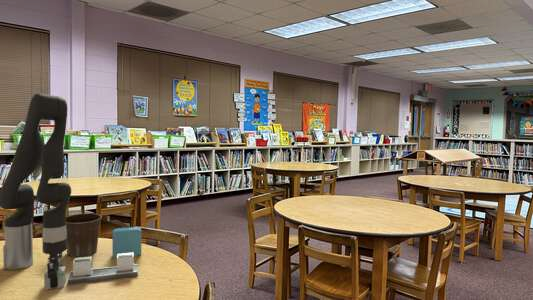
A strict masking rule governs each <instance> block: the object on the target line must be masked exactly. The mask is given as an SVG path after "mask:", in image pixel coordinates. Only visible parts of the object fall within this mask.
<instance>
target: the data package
mask: <svg viewBox="0 0 533 300" xmlns="http://www.w3.org/2000/svg"><path fill="white" fill-rule="evenodd" d="M111 236H112V237H111V238H112V246H111V247H112V252H111V253H112V257H113V258H115V259H117V254H122V253H132V252H134V257H137V256H140V255H141V254H142V229H141V227H140V226H134V227H133V226H132V227H119V228H115V229H113V231H112V235H111Z"/></svg>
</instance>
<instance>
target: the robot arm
mask: <svg viewBox="0 0 533 300" xmlns="http://www.w3.org/2000/svg"><path fill="white" fill-rule="evenodd" d="M67 117H68V103H67V100H66V99H65V98H64V97H62V96H59V95H51V94H45V93H35V94H33V96H32V98H31V99H30V102H29V105H28V108H27V114H26V119H25V123H24V127H23V130H22V133H21V137H20V139H19V142H18V144H17V146H16V150H15V152H14V155H13V159H12V163H11V165H10V169H9V171H8V173H7V176H6V178H5V180H4V182H3V183H2V186H1V188H0V208H1V209H3V210H14V209H15V210H16V209H17V210H16V211H15V212H14V213H12V214H10V215H9V216H7V217H6V218H5V219H4V245H3V248H2V249H3V253H2V254H3V255H2V257H3V258H2V259H3V270H10V271H13V270H15V271H16V270H22V269H26V268H29V267H31V266H32V265H33V264H34V251H33V250H34V249H33V248H34V244H33V240H34V239H33V238H34V237H33V218H34V213H35V210H34V209H35V207H34V206H35V197H36V199H37V201H38V203H40V204H55V203H57V204H58V205H56V206H54V207H52V208H49V209H46V210H45V211H43V214H42V237H41V238H42V253H43V254H45V255H49V256H48V257H47V264H46V267H47V268H46V269H47V270H48V278H50V288H53V289H57V288H56V287H57V286H58V270H59V269H60V267H62V266H63V264H62V263H63V252H65V251H67V229H66V217H67V208H68V205H69V201H70V198H71V194H72V187H71V185H70V184H69V183H67V182H65V181H62V182H49V180H51V179H53V178H56V177H60V176H63V175H64V174H65V158H64V157H65V155H64V154H65V153H64V150H65V148H64V145H65V137H66V130H67V121H68V118H67ZM41 120H43V121H54V122H53V124H54V127H53V131H52V133H51V134H50V136H49V137H48V139H47V141H46V142H45V140H43V137H42V135H41V132H40V128H39V126H40V122H41ZM40 166H41V174H40V178H39V179H40V180H39V184H38V186H37V189H36V194H35V192H34V188H33V187H32V186H31V185H30V184H25V183H24V184H22V183H23V182H24V181H25V180H26V179H28V177H29V176H31V175H32V174H34V173H35V172H36V170H38V169H39V167H40ZM35 195H36V196H35ZM56 267H57V268H56ZM52 273H54V274H52Z"/></svg>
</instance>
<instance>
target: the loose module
mask: <svg viewBox="0 0 533 300" xmlns="http://www.w3.org/2000/svg"><path fill="white" fill-rule="evenodd" d="M56 268H57V267H56ZM66 271H67V268H66V265H64V266H63V265H62V267H60V269H59V270H58V286H57V287H56V288H55V289H61V288H65V285H66V283H67V281H66V280H67V275H66V273H67V272H66ZM52 274H54V273H52ZM43 278H44V279H43V280H44V281H43V285H44V288H43V289H44V290H50V289H51V290H52V289H54V288H50V278H48V270H47V268H46V269H45V271H44V273H43Z"/></svg>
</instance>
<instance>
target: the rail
mask: <svg viewBox="0 0 533 300" xmlns="http://www.w3.org/2000/svg"><path fill="white" fill-rule="evenodd" d="M134 257H135V256H134V252H132V253H122V254H117V258H116V265H115V266H109V267H100V268H98V267H97V268H93V256H83V257H74V259H73V261H72V270H71V271H70V274H69V276H68V279H67V285H69V286H70V285H76V284H77V285H78V284H85V283H94V282H101V281H109V280H118V279H125V278H126V279H128V278H135V277H138V275H139V273H138V271H139V270H138V264H137V263H136V264H135V263H134V261H135V260H134Z"/></svg>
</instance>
